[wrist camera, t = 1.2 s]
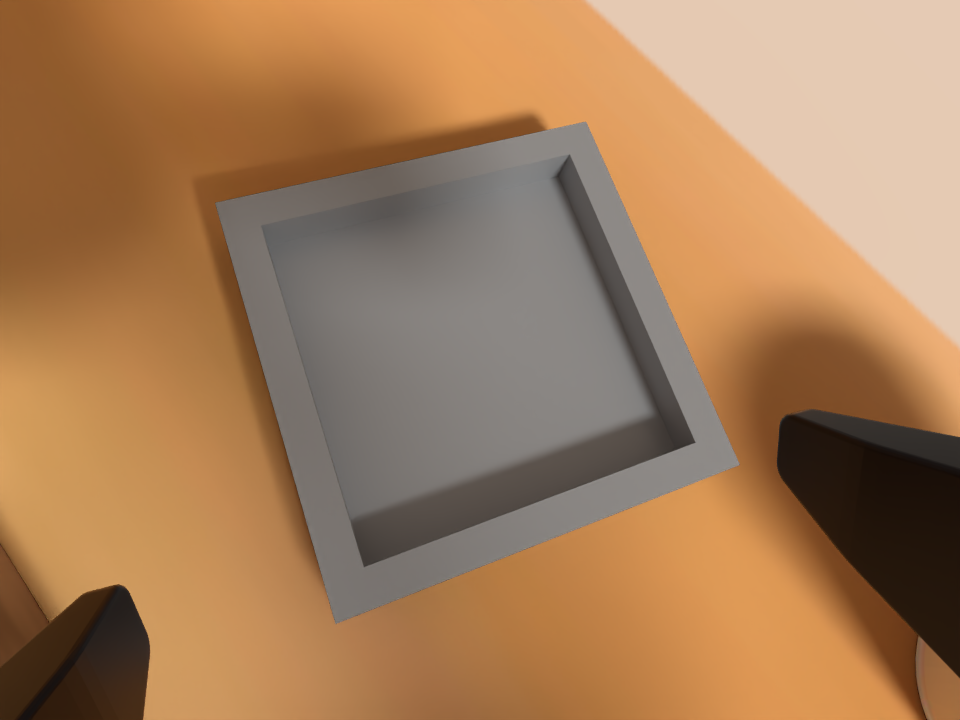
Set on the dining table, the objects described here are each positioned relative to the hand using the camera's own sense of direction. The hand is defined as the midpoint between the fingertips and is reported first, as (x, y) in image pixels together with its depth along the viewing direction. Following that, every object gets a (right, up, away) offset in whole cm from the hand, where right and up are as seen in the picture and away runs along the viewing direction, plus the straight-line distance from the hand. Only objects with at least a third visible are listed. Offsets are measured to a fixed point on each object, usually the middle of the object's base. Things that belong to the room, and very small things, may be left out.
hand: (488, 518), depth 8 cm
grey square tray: (-1, +2, +15) cm, 15 cm away
